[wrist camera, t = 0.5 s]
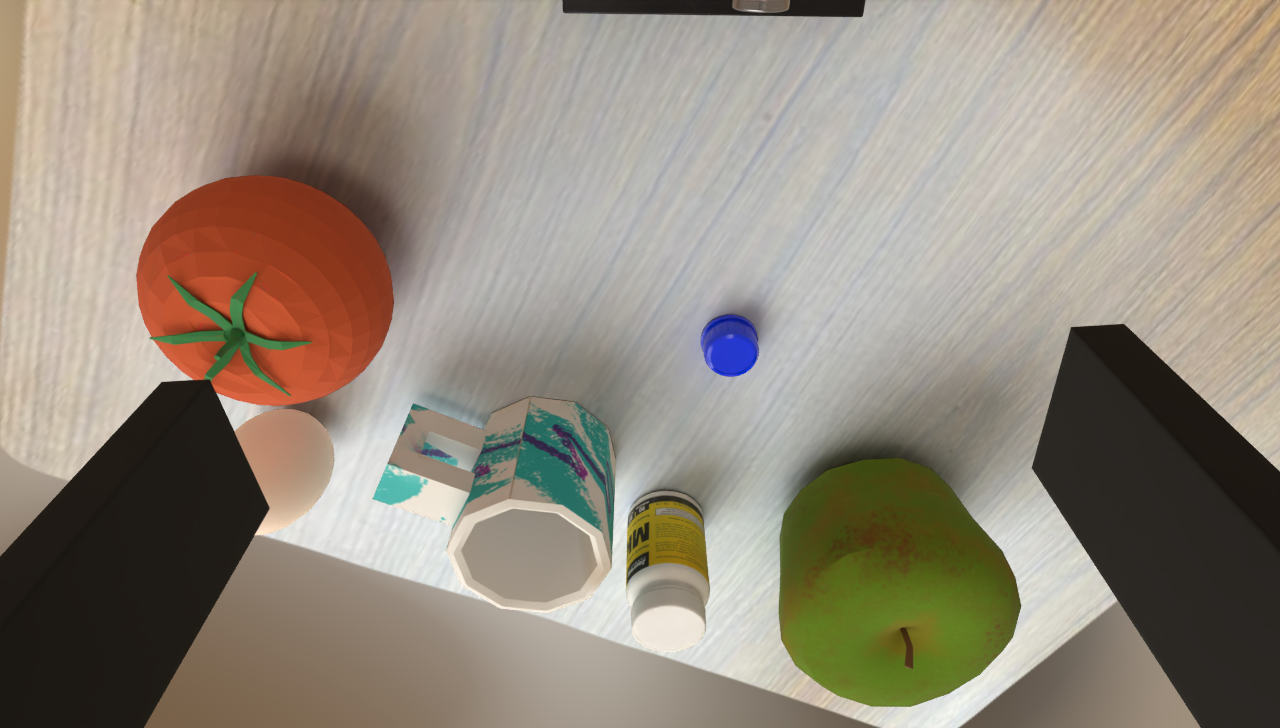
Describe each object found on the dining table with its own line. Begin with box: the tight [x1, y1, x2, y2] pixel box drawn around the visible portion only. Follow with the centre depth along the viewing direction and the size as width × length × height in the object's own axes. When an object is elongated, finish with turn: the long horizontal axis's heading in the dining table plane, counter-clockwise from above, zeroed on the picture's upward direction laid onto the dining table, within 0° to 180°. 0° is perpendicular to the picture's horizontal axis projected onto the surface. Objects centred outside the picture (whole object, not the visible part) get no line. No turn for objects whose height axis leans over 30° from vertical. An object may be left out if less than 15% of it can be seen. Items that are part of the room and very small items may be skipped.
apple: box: [779, 458, 1021, 707], centre depth 42 cm, size 12×12×11 cm
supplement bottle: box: [626, 491, 710, 652], centre depth 44 cm, size 5×5×8 cm
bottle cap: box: [701, 315, 759, 377], centre depth 40 cm, size 3×3×2 cm
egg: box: [235, 409, 334, 535], centre depth 40 cm, size 6×6×8 cm
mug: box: [373, 397, 616, 613], centre depth 40 cm, size 8×12×8 cm
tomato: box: [136, 175, 394, 406], centre depth 33 cm, size 10×10×10 cm
